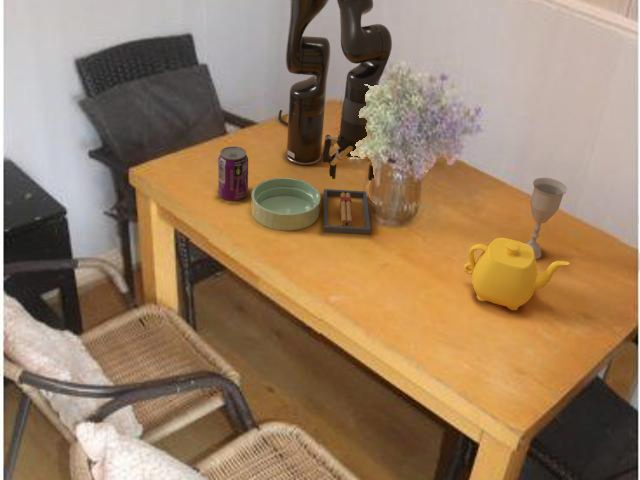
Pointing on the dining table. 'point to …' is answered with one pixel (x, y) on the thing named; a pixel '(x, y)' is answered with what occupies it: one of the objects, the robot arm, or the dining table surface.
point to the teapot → (507, 272)
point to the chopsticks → (345, 209)
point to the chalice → (544, 206)
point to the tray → (345, 228)
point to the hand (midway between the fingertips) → (351, 178)
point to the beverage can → (233, 173)
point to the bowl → (285, 204)
